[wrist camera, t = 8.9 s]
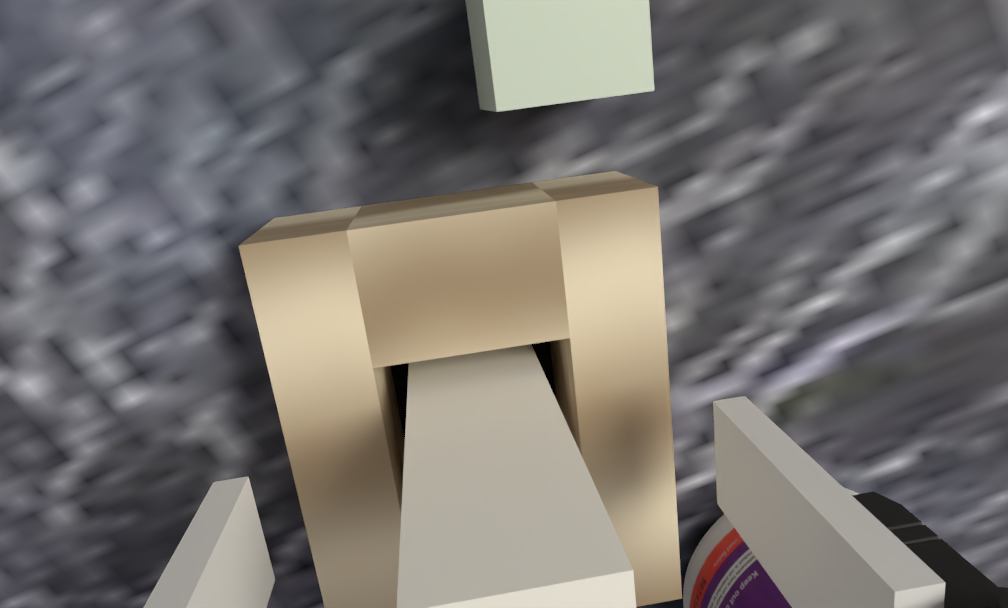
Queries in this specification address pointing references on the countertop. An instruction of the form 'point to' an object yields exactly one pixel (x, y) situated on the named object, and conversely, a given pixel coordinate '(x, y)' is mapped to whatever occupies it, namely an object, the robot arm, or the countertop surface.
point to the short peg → (558, 50)
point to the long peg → (500, 494)
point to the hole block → (463, 330)
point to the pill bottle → (729, 573)
